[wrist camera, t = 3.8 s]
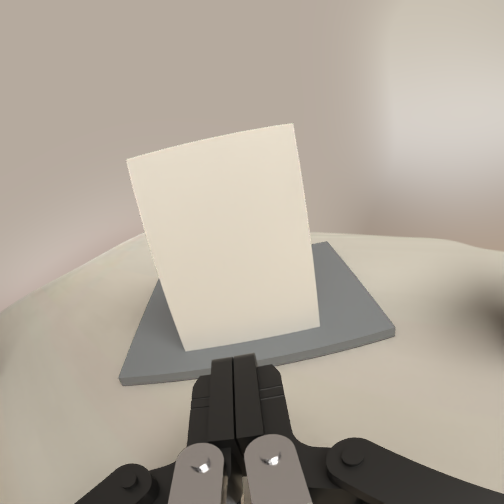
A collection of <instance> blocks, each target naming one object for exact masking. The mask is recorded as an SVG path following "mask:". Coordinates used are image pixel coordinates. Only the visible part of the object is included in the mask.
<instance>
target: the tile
mask: <svg viewBox="0 0 504 504" xmlns="http://www.w3.org/2000/svg"><path fill="white" fill-rule="evenodd" d="M126 162H127V166H128V170H129V175H130V179H131V182H132V186H133V190H134V194H135V198H136V201H137V205H138V209H139V213H140V216H141V220H142V224H143V227H144V231H145V234H146V237H147V241H148V244H149V247H150V251H151V254H152V257H153V260H154V264H155V267H156V270H157V273H158V276H159V279H160V282H161V285H162V288H163V291H164V294H165V297H166V300H167V303H168V306H169V309H170V311H171V314H172V317H173V320H174V323H175V325H176V328H177V331H178V333H179V336H180V339H181V341H182V344H183V347H184V349H185V351H192V350H198V349H205V348H211V347H218V346H224V345H230V344H236V343H241V342H247V341H252V340H258V339H263V338H268V337H273V336H278V335H283V334H288V333H293V332H297V331H302V330H307V329H311V328H315V327H320V320H319V310H318V300H317V290H316V280H315V271H314V263H313V254H312V246H311V238H310V230H309V223H308V215H307V209H306V201H305V194H304V188H303V182H302V175H301V168H300V162H299V156H298V150H297V144H296V138H295V132H294V126H293V123H291V124H284V125H277V126H271V127H265V128H259V129H253V130H248V131H242V132H237V133H232V134H227V135H222V136H217V137H213V138H208V139H204V140H199V141H194V142H190V143H186V144H182V145H178V146H174V147H170V148H166V149H162V150H158V151H155V152H151V153H147V154H144V155H140V156H136V157H133V158H129V159H126Z"/></svg>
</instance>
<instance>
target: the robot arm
mask: <svg viewBox="0 0 504 504" xmlns="http://www.w3.org/2000/svg"><path fill="white" fill-rule="evenodd" d="M244 476H247V478H248V484H249V490H250V495H251V501H252V504H504V494H502V493H499V492H495V491H492V490H489V489H486V488H483V487H480V486H477V485H474V484H471V483H468V482H465V481H462V480H460V479H457V478H454V477H452V476H449V475H446V474H444V473H441V472H439V471H436V470H434V469H431V468H429V467H426V466H424V465H421V464H419V463H417V462H414V461H412V460H410V459H407V458H405V457H403V456H401V455H398V454H396V453H394V452H392V451H390V450H387V449H385V448H383V447H381V446H379V445H377V444H375V443H373V442H371V441H369V440H366V439H363V438H348V439H344V440H342V441H340V442H338V443H336V444H335V445H334V446H333V447H332V448H325V447H312V446H308V445H305V444H303V443H301V442H300V441H298V440H297V439H296V438H295V436H294V435H293V433H292V430H291V425H290V420H289V415H288V410H287V405H286V400H285V395H284V390H283V385H282V380H281V375H280V372H279V371H278V370H277V369H276V368H275V367H274V366H273V365H272V364H270V365H264V366H259V367H258V364H257V360H256V356H255V353H249V354H244V355H238V356H234V358H233V357H226V358H220V359H214V360H212V362H211V374H210V375H203V376H199V378H198V380H197V381H196V383H195V384H194V386H193V391H192V401H191V410H190V420H189V430H188V441H187V447H186V448H185V449H184V450H183V451H181V453H180V454H179V455H178V457H177V460H176V461H175V462H174V463H172V464H170V465H167V466H164V467H161V468H157V469H154V470H150V471H148V470H147V469H146V468H145V467H143V466H141V465H139V464H126V465H123V466H121V467H119V468H117V469H116V470H115V471H114V472H112V473H111V474H110V475H109V476H108V477H107V478H105V479H104V480H103V481H102V482H101V483H99V484H98V485H97V486H96V487H95V488H93V489H92V490H91V491H90V492H88V493H87V494H86V495H85V496H83V497H82V498H81V499H80V500H78V501H77V502H76V503H75V504H244V492H243V482H242V477H244Z"/></svg>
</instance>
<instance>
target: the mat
mask: <svg viewBox="0 0 504 504" xmlns="http://www.w3.org/2000/svg"><path fill="white" fill-rule="evenodd" d="M311 246H312V254H313V263H314V271H315V280H316V290H317V300H318V310H319V320H320V327H315V328H311V329H307V330H302V331H297V332H293V333H288V334H283V335H278V336H273V337H268V338H263V339H258V340H252V341H247V342H241V343H236V344H230V345H224V346H218V347H211V348H205V349H198V350H192V351H185V349H184V347H183V344H182V341H181V339H180V336H179V333H178V331H177V328H176V325H175V323H174V320H173V317H172V314H171V311H170V309H169V306H168V303H167V300H166V297H165V294H164V291H163V288H162V285H161V282H160V279H159V280H158V282H157V284H156V286H155V289H154V291H153V293H152V296H151V298H150V300H149V303H148V305H147V307H146V310H145V312H144V314H143V317H142V319H141V322H140V324H139V326H138V329H137V331H136V334H135V336H134V339H133V341H132V344H131V346H130V349H129V351H128V354H127V357H126V359H125V362H124V364H123V367H122V370H121V372H120V375H119V380H120V382H121V384H122V385H123V386H126V385H140V384H152V383H163V382H172V381H181V380H190V379H198V378H199V376H203V375H210V374H211V362H212V360H214V359H220V358H226V357H233V358H234V356H238V355H244V354H249V353H255V356H256V360H257V364H258V367H259V366H264V365H270V364H272V365H273V366H277V365H282V364H287V363H292V362H297V361H301V360H306V359H310V358H315V357H319V356H323V355H328V354H332V353H336V352H340V351H344V350H347V349H351V348H355V347H359V346H362V345H366V344H370V343H373V342H377V341H380V340H383V339H387V338H390V337H393V336H395V326H394V325H393V323H392V322H391V321H390V319H389V318H388V317H387V316H386V314H385V313H384V312H383V310H382V309H381V308H380V306H379V305H378V304H377V303H376V301H375V300H374V299H373V297H372V296H371V295H370V294H369V292H368V291H367V290H366V289H365V287H364V286H363V285H362V283H361V282H360V281H359V280H358V278H357V277H356V276H355V275H354V273H353V272H352V271H351V270H350V269H349V267H348V266H347V265H346V264H345V262H344V261H343V260H342V259H341V258H340V256H339V255H338V254H337V253H336V251H335V250H334V249H333V248H332V247H331V245H330V244H329V243H328V242H327V241H326V242H321V243H316V244H311Z"/></svg>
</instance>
